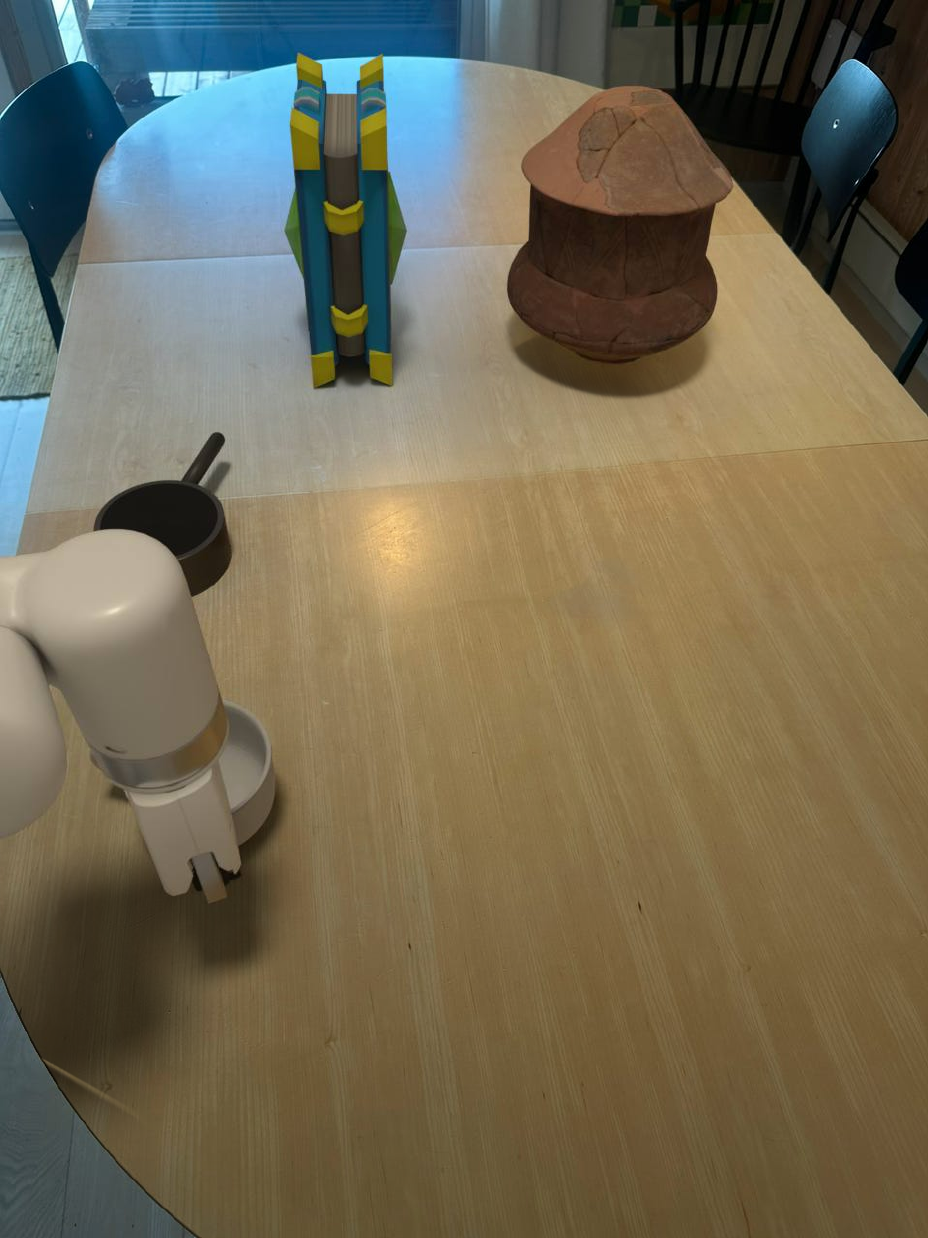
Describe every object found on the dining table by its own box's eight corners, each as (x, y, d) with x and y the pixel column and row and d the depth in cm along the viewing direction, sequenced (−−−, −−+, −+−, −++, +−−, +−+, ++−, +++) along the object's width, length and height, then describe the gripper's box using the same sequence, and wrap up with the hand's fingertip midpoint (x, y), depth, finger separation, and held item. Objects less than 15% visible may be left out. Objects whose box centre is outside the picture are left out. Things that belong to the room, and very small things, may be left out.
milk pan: (83, 589, 92) (69, 551, 88) (173, 457, 106) (165, 419, 102) (203, 612, 91) (194, 574, 87) (278, 475, 104) (273, 437, 101)
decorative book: (404, 296, 131) (402, 50, 109) (411, 395, 115) (410, 131, 93) (298, 297, 130) (274, 48, 108) (290, 397, 114) (260, 130, 92)
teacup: (306, 783, 78) (297, 724, 72) (235, 898, 71) (219, 843, 66) (159, 727, 82) (139, 666, 76) (78, 832, 75) (49, 774, 69)
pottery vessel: (715, 411, 116) (785, 152, 93) (501, 399, 116) (521, 138, 93) (689, 300, 133) (744, 60, 111) (504, 290, 133) (521, 47, 111)
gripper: (70, 647, 58) (144, 806, 72) (110, 858, 49) (185, 994, 63) (195, 612, 60) (243, 774, 74) (255, 808, 51) (298, 951, 65)
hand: (217, 875), depth 68 cm, fingers closed
